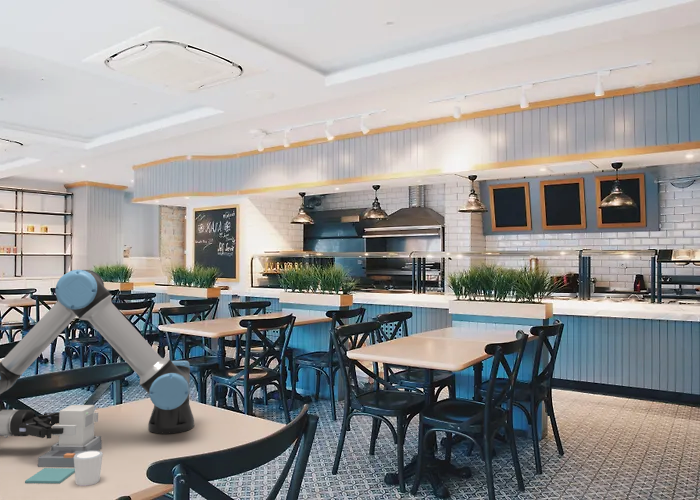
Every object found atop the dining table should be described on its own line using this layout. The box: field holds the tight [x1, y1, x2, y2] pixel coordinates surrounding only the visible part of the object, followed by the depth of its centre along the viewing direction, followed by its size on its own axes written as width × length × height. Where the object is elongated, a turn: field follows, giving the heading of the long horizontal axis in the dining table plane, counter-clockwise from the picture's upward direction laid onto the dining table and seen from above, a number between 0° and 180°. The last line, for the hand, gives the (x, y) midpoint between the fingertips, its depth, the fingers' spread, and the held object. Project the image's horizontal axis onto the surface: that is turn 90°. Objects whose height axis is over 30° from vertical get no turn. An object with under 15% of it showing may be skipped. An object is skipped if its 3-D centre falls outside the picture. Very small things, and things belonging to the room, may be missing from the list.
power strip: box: [37, 435, 103, 468], centre depth 166 cm, size 10×24×4 cm, turn 0°
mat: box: [24, 467, 75, 484], centre depth 146 cm, size 9×9×1 cm
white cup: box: [73, 450, 104, 487], centre depth 143 cm, size 7×7×7 cm
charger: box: [58, 404, 96, 446], centre depth 165 cm, size 8×7×11 cm
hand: (87, 423), depth 165 cm, fingers open, 13 cm apart
